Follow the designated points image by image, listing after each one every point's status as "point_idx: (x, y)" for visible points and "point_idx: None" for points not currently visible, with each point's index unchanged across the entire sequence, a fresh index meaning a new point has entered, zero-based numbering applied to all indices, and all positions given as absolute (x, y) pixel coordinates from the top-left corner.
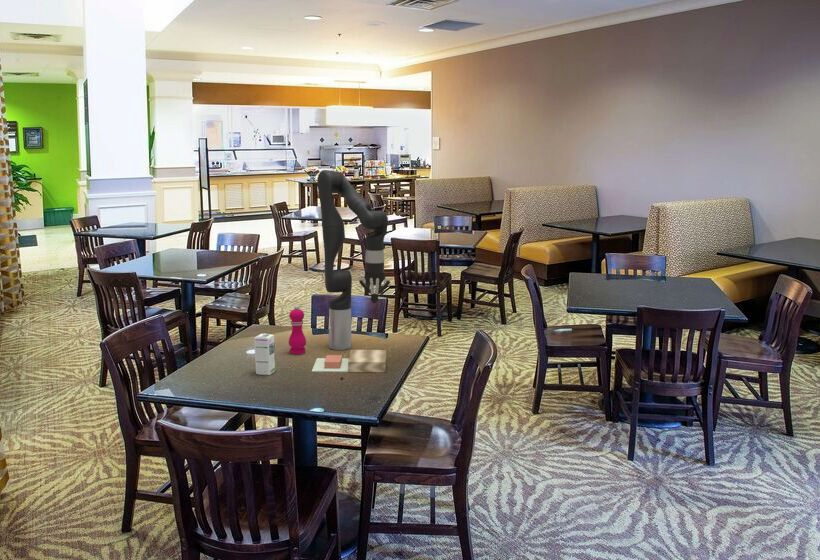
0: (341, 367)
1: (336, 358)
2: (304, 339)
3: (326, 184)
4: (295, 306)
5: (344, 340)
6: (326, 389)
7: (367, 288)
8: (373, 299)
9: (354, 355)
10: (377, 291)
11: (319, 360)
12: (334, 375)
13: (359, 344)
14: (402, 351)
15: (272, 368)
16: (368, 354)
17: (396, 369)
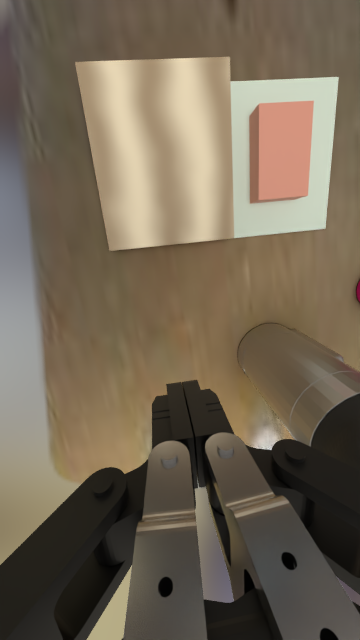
0: (245, 128)
1: (274, 155)
2: None
3: None
4: None
5: (266, 338)
6: None
7: (331, 494)
8: (195, 397)
9: (215, 161)
10: (157, 478)
11: (317, 205)
12: (260, 37)
13: (218, 384)
14: (82, 342)
15: None
16: (165, 181)
17: (53, 135)
